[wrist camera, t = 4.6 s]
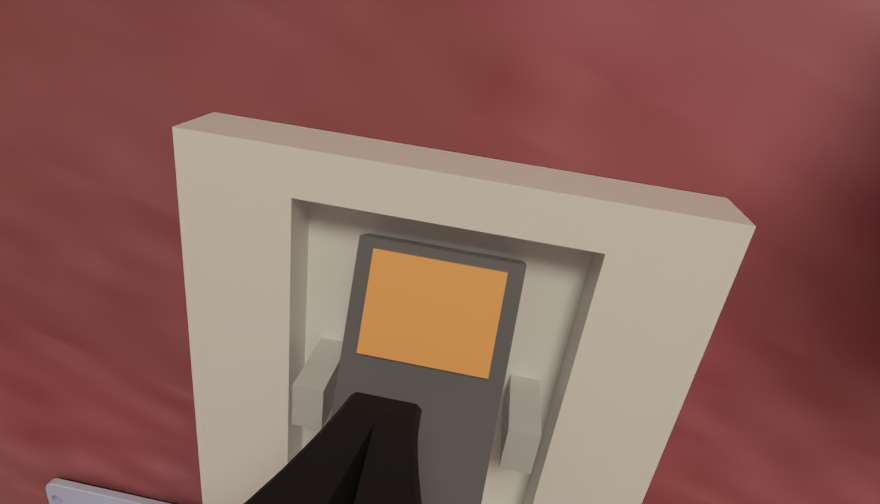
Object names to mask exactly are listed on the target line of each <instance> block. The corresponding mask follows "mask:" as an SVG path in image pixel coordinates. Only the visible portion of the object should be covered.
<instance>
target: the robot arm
mask: <svg viewBox="0 0 880 504" xmlns="http://www.w3.org/2000/svg"><path fill="white" fill-rule="evenodd" d="M421 413H422V410H421V408H420V407H419V406H418V405H417V404H414V403H410V402H405V401H400V400H395V399H390V398H385V397H380V396H375V395H370V394H365V393H360V392H355V393H353V394H352V395H350V396H349V398H348V399H347V400H346V401H345V403H344V404H343V405H342V406H341V407H340V409H339V410H338V411H337V412H336V413H335V414H334V416H333V417H332V418H331V419H330V420H329V421H328V422H327V423H326V425H325V426H324V427H323V428H322V429H321V430H320V431H319V432H318V433H317V434H316V435H315V436H314V438H313V439H312V440H311V441H310V442H309V443H308V444H307V445H306V446H305V447H304V448H303V449H302V450H301V451H300V452H299V453H298V454H297V455H296V456H295V457H294V458H293V459H292V460H291V461H290V462H289V463H288V464H287V465H286V466H285V467H284V468H283V469H281V470H280V471H279V472H278V473H277V474H276V475H275V476H274V477H273V478H272V479H271V480H269V481H268V482H267V483H266V484H265V485H264V486H263V487H262V488H261V489H259V490H258V491H257V492H256V493H255V494H254V495H253V496H252V497H251V498H249V499H248V500H247V501H246V502H245V503H244V504H422V501H421V491H420V481H419V468H418V432H419V426H420V419H421ZM46 492H47V496H48V500H49V504H171V503H167V502H162V501H158V500H153V499H149V498H144V497H140V496H135V495H131V494H127V493H122V492H118V491H113V490H109V489H104V488H100V487H95V486H91V485H87V484H82V483H78V482H73V481H69V480H64V479H60V478H54V479H52V480H51V481H50V482H49V483H48V484H47V485H46Z"/></svg>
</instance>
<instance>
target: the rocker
mask: <svg viewBox="0 0 880 504" xmlns="http://www.w3.org/2000/svg"><path fill="white" fill-rule="evenodd" d="M526 266H527V265H526V263H525V262H524V261H521V260H515V259H510V258H504V257H499V256H493V255H487V254H482V253H476V252H471V251H465V250H460V249H454V248H449V247H443V246H438V245H432V244H427V243H421V242H416V241H410V240H405V239H399V238H394V237H388V236H382V235H377V234H371V233H367V234H362V235H360V237H359V243H358V249H357V256H356V262H355V268H354V274H353V281H352V287H351V293H350V300H349V306H348V312H347V319H346V325H345V331H344V338H343V344H342V350H341V357H340V363H339V369H338V376H337V382H336V388H335V394H334V401H333V407H332V413H331V418H332V417H333V416H334V414H335V413H336V412H337V411H338V410H339V409H340V407H341V406H342V405H343V404H344V403H345V401H346V400H347V399H348V398H349V396H350V395H352V394H353V393H355V392H360V393H365V394H370V395H375V396H380V397H385V398H390V399H395V400H400V401H405V402H410V403H414V404H417V405H418V406H419V407H420V408H421V410H422V413H421V419H420V426H419V432H418V468H419V481H420V491H421V501H422V504H481V502H482V497H483V492H484V487H485V481H486V476H487V471H488V466H489V460H490V455H491V450H492V445H493V439H494V434H495V429H496V424H497V418H498V413H499V408H500V403H501V397H502V392H503V387H504V382H505V377H506V371H507V366H508V361H509V356H510V350H511V345H512V340H513V335H514V329H515V324H516V319H517V314H518V308H519V303H520V298H521V293H522V287H523V282H524V277H525V272H526Z"/></svg>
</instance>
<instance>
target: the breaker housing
mask: <svg viewBox="0 0 880 504" xmlns="http://www.w3.org/2000/svg"><path fill="white" fill-rule="evenodd" d="M172 129H173V142H174V154H175V166H176V179H177V191H178V204H179V216H180V229H181V241H182V253H183V266H184V278H185V291H186V303H187V316H188V328H189V340H190V353H191V365H192V378H193V390H194V403H195V415H196V427H197V440H198V452H199V465H200V477H201V489H202V502H203V504H244V503H245V502H246V501H247V500H248V499H249V498H251V497H252V496H253V495H254V494H255V493H256V492H257V491H258V490H259V489H261V488H262V487H263V486H264V485H265V484H266V483H267V482H268V481H269V480H271V479H272V478H273V477H274V476H275V475H276V474H277V473H278V472H279V471H280V470H281V469H283V468H284V467H285V466H286V465H287V464H288V463H289V462H290V461H291V460H292V459H293V458H294V457H295V456H296V455H297V454H298V453H299V452H300V451H301V450H302V449H303V448H304V447H305V446H306V445H307V444H308V443H309V442H310V441H311V440H312V439H313V438H314V436H315V435H316V434H317V433H318V432H319V431H320V430H321V429H322V428H323V427H324V426H325V425H326V423H327V422H328V421H329V420H330V419H331V413H332V407H333V401H334V394H335V388H336V382H337V376H338V369H339V363H340V357H341V350H342V344H343V338H344V331H345V325H346V319H347V312H348V306H349V300H350V293H351V287H352V281H353V274H354V268H355V262H356V256H357V249H358V243H359V237H360V235H362V234H367V233H371V234H377V235H382V236H388V237H394V238H399V239H405V240H410V241H416V242H421V243H427V244H432V245H438V246H443V247H449V248H454V249H460V250H465V251H471V252H476V253H482V254H487V255H493V256H499V257H504V258H510V259H515V260H521V261H524V262H525V263H526V265H527V266H526V272H525V277H524V282H523V287H522V293H521V298H520V303H519V308H518V314H517V319H516V324H515V329H514V335H513V340H512V345H511V350H510V356H509V361H508V366H507V371H506V377H505V382H504V387H503V392H502V397H501V403H500V408H499V413H498V418H497V424H496V429H495V434H494V439H493V445H492V450H491V455H490V460H489V466H488V471H487V476H486V481H485V487H484V492H483V497H482V502H481V504H642V501H643V499H644V497H645V494H646V492H647V489H648V487H649V484H650V482H651V480H652V477H653V475H654V472H655V470H656V468H657V465H658V463H659V460H660V458H661V455H662V453H663V451H664V448H665V446H666V443H667V441H668V438H669V436H670V434H671V431H672V429H673V426H674V424H675V422H676V419H677V417H678V414H679V412H680V409H681V407H682V405H683V402H684V400H685V397H686V395H687V393H688V390H689V388H690V385H691V383H692V380H693V378H694V376H695V373H696V371H697V368H698V366H699V363H700V361H701V359H702V356H703V354H704V351H705V349H706V347H707V344H708V342H709V339H710V337H711V334H712V332H713V330H714V327H715V325H716V322H717V320H718V318H719V315H720V313H721V310H722V308H723V305H724V303H725V301H726V298H727V296H728V293H729V291H730V289H731V286H732V284H733V281H734V279H735V276H736V274H737V272H738V269H739V267H740V264H741V262H742V259H743V257H744V255H745V252H746V250H747V247H748V245H749V243H750V240H751V238H752V235H753V233H754V230H755V228H756V226H755V225H754V224H753V223H752V222H751V221H750V220H749V219H748V218H747V217H746V216H745V215H744V214H743V213H742V212H741V211H740V210H739V209H738V208H737V207H736V206H735V205H734V204H733V203H732V202H730V201H729V200H728V199H727V198H724V197H718V196H712V195H706V194H701V193H695V192H689V191H683V190H677V189H671V188H665V187H659V186H653V185H647V184H641V183H635V182H629V181H623V180H617V179H611V178H605V177H599V176H593V175H587V174H581V173H575V172H569V171H563V170H557V169H551V168H545V167H539V166H533V165H527V164H521V163H515V162H509V161H504V160H498V159H492V158H486V157H480V156H474V155H468V154H462V153H456V152H450V151H444V150H438V149H432V148H426V147H420V146H414V145H408V144H402V143H396V142H390V141H384V140H378V139H372V138H366V137H360V136H354V135H348V134H342V133H336V132H330V131H324V130H318V129H312V128H307V127H301V126H295V125H289V124H283V123H277V122H271V121H265V120H259V119H253V118H247V117H241V116H235V115H229V114H223V113H217V112H213V113H210V114H208V115H205V116H202V117H199V118H196V119H193V120H190V121H187V122H185V123H182V124H179V125H176V126H173V127H172Z"/></svg>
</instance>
